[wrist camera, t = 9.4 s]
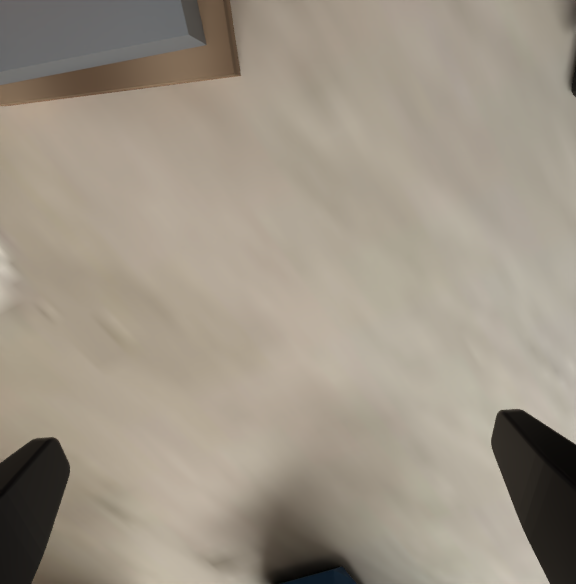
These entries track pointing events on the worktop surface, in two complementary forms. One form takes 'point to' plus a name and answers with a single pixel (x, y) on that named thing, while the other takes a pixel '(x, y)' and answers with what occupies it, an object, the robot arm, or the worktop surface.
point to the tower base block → (143, 66)
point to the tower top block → (90, 33)
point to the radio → (325, 578)
